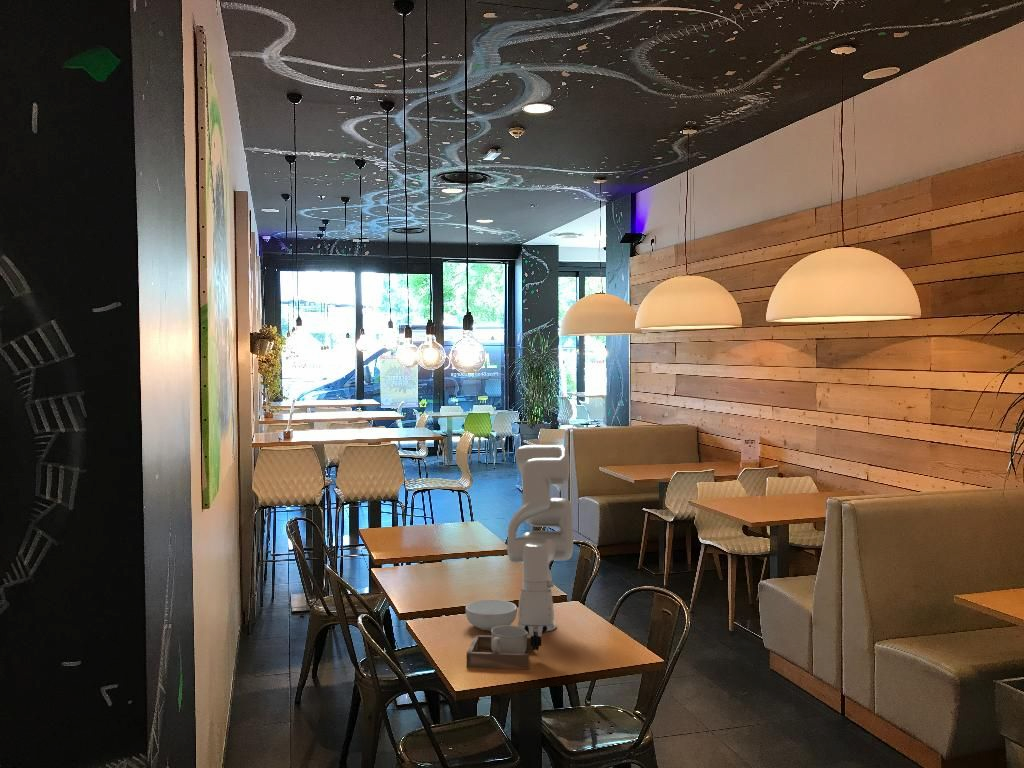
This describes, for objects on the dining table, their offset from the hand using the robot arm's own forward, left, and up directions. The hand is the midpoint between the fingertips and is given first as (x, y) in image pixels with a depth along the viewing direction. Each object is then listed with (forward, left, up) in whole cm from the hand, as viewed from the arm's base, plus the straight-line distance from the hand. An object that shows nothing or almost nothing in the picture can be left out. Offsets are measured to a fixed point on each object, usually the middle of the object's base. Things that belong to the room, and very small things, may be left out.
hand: (536, 648), depth 239 cm
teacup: (0, -9, -4) cm, 10 cm away
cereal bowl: (-30, -17, -4) cm, 35 cm away
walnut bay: (0, -10, -3) cm, 10 cm away
